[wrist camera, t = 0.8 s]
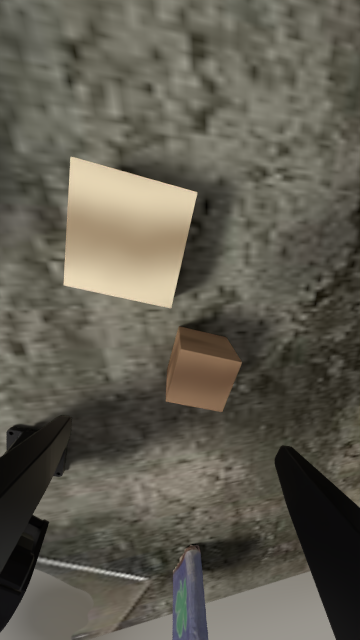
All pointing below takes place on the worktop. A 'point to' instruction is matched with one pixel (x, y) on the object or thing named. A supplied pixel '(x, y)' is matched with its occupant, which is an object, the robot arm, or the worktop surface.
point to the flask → (189, 597)
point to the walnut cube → (201, 370)
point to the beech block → (125, 233)
